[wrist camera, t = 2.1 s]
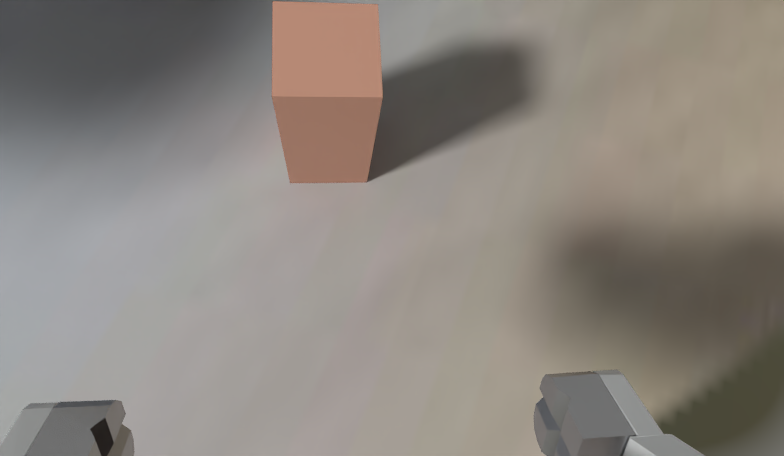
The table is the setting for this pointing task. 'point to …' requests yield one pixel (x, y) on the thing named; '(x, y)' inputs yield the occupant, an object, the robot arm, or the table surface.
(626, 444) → the robot arm
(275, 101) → the post
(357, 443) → the table surface
